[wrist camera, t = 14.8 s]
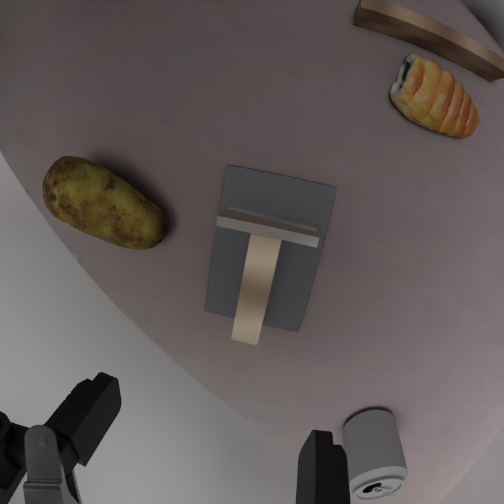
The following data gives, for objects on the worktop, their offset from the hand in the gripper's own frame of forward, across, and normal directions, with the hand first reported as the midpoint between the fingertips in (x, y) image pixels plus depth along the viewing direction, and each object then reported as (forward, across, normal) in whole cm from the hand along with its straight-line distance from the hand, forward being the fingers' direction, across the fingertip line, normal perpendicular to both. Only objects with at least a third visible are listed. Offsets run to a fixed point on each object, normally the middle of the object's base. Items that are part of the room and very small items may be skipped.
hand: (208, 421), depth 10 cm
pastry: (+20, -13, -19) cm, 31 cm away
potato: (+20, +16, -3) cm, 26 cm away
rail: (+20, -12, -25) cm, 34 cm away
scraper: (+19, 0, +2) cm, 19 cm away
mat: (+20, 0, 0) cm, 20 cm away
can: (+20, -19, +20) cm, 34 cm away
